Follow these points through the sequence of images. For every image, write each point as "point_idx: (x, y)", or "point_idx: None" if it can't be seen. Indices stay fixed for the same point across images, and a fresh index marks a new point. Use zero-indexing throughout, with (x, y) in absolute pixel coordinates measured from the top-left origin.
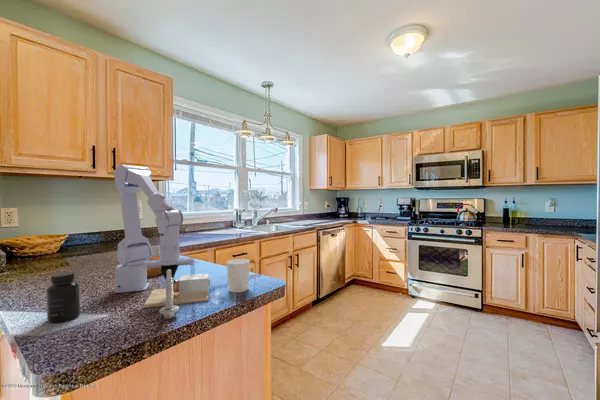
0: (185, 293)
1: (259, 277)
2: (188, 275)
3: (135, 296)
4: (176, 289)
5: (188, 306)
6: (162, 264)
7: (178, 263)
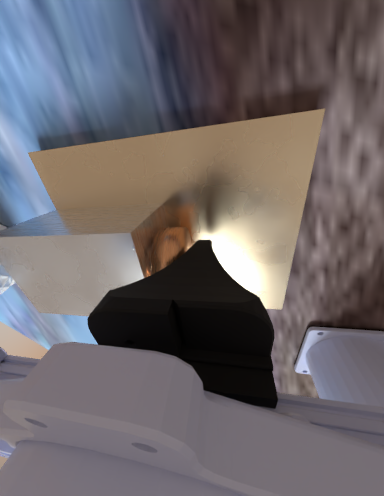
0: (131, 207)
1: (8, 319)
2: None
3: (347, 283)
4: (168, 228)
5: (92, 86)
6: (260, 420)
7: (22, 379)
